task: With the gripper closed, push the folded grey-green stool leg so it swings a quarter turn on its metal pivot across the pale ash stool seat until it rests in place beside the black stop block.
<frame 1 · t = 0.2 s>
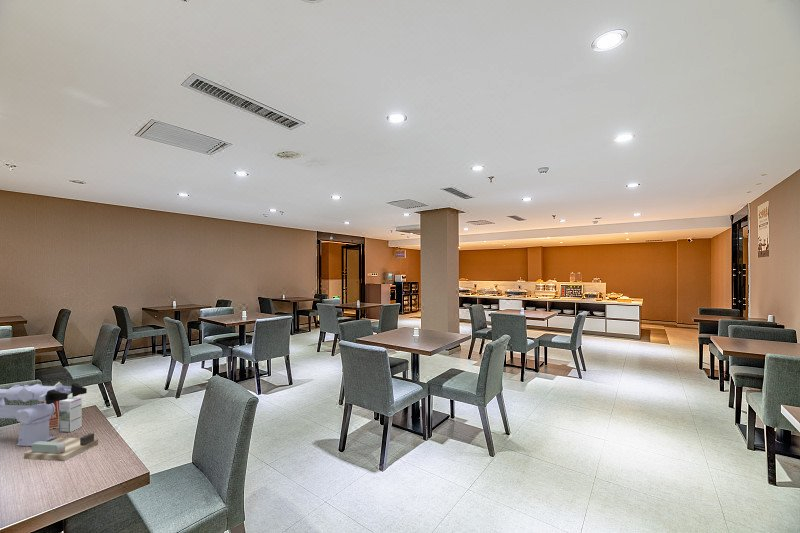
hand: (76, 393, 151), 21 cm above the table, tool horizontal, fingers open, 7 cm apart
syrup box: (70, 430, 165), on the table
milk carton: (54, 426, 169), on the table
stool leg: (49, 446, 141), point 4 cm above the table, hinge at 0.0°
stool seat: (62, 450, 145), on the table
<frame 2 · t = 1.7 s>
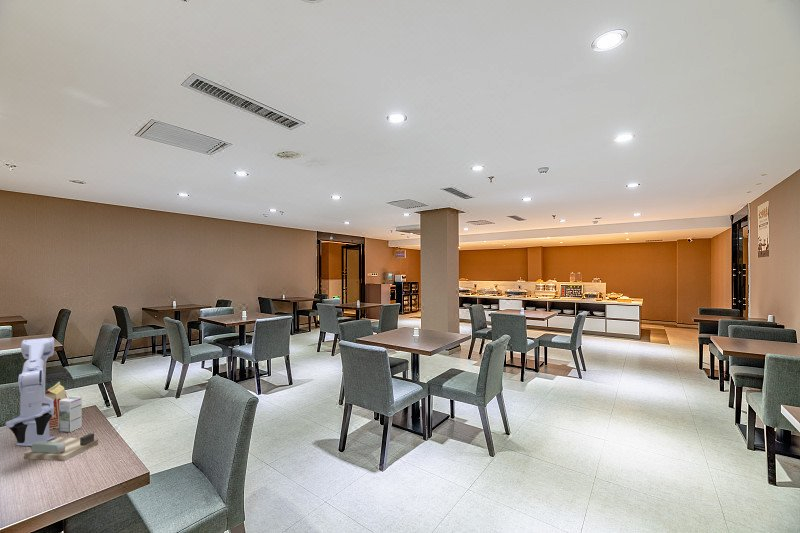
hand: (30, 438, 136), 9 cm above the table, tool pointing down, fingers open, 6 cm apart
nothing on the table moved.
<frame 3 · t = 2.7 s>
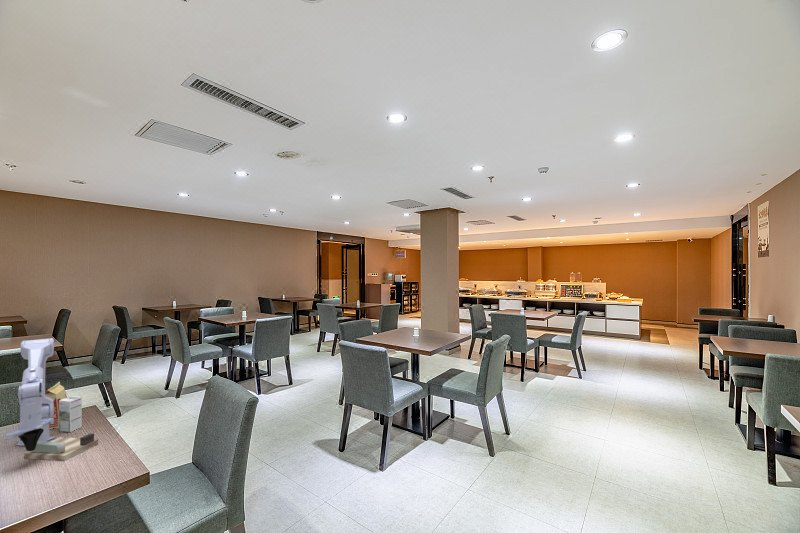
hand: (30, 450, 136), 5 cm above the table, tool pointing down, fingers closed
nothing on the table moved.
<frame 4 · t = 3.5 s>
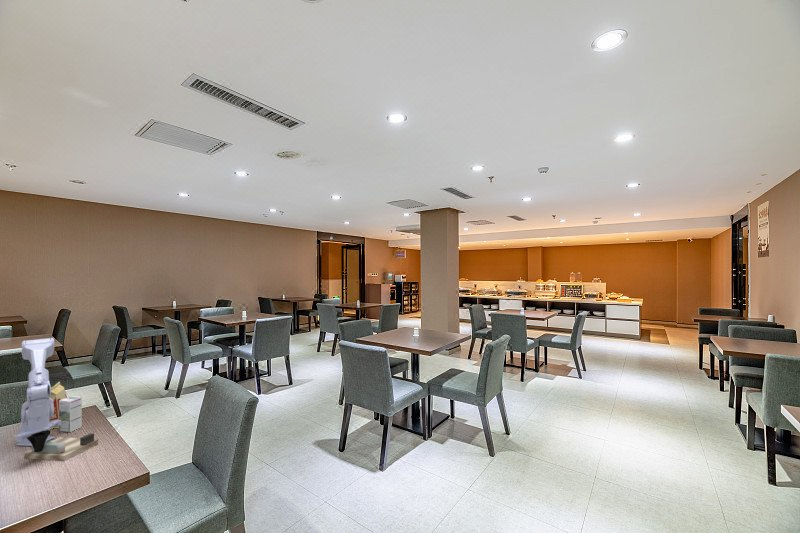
hand: (38, 451, 139), 3 cm above the table, tool pointing down, fingers closed
stool leg: (49, 446, 141), point 4 cm above the table, hinge at 0.0°, touching gripper
everything else where it was.
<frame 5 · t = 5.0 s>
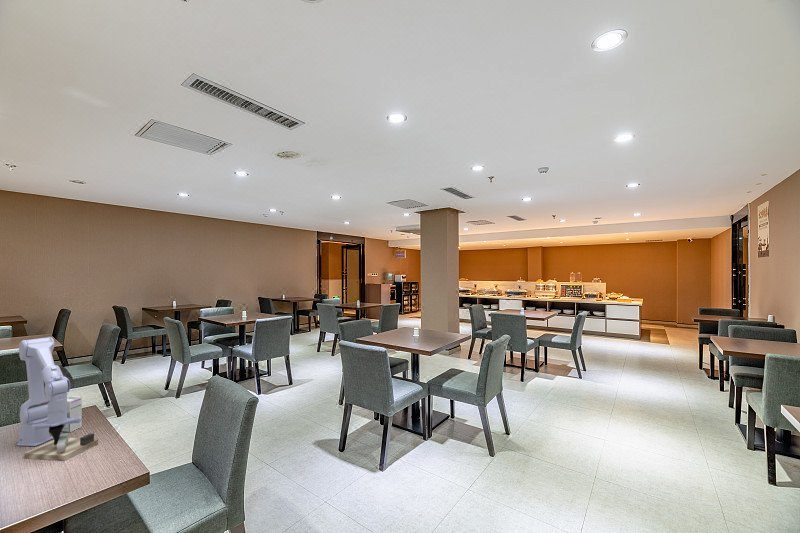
hand: (57, 443, 144), 3 cm above the table, tool pointing down, fingers closed, pressing on stool leg
stool leg: (62, 442, 144), point 4 cm above the table, hinge at 45.1°, touching gripper
everything else where it was.
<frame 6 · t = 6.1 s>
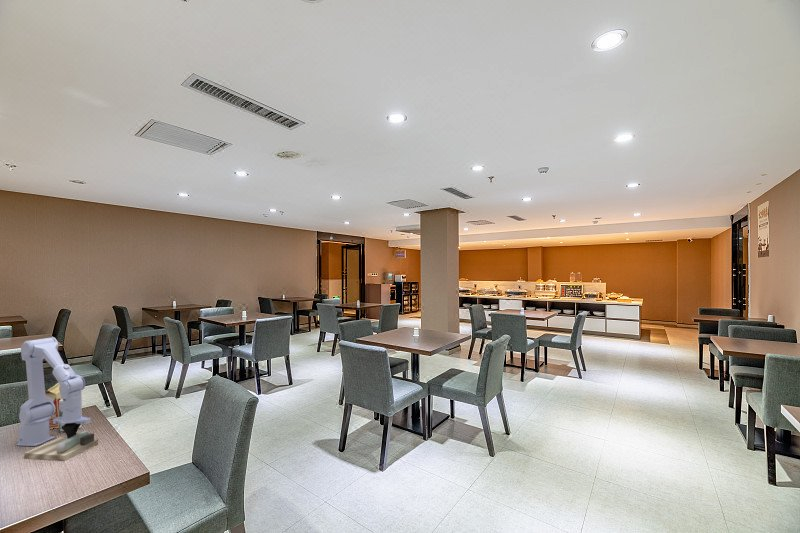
hand: (71, 440, 147), 3 cm above the table, tool pointing down, fingers closed, pressing on stool leg
stool leg: (72, 441, 145), point 4 cm above the table, hinge at 80.7°, touching gripper
everything else where it was.
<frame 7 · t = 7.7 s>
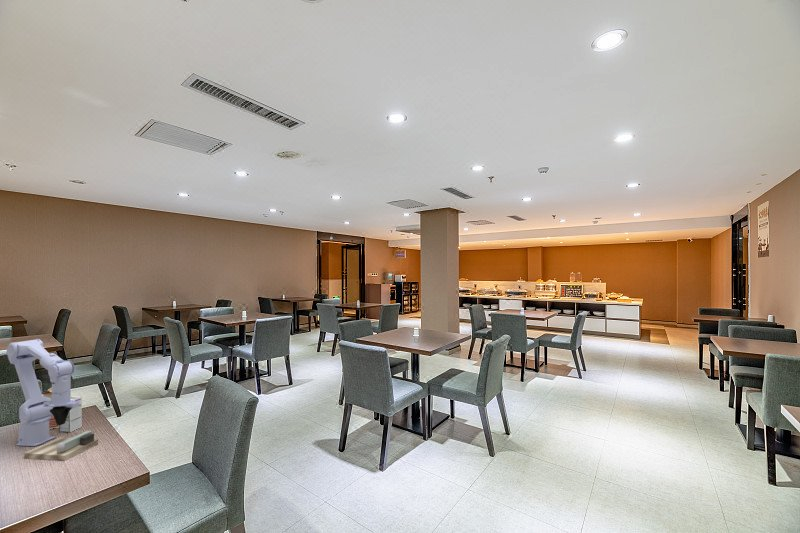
hand: (61, 424, 149), 9 cm above the table, tool pointing down, fingers closed
stool leg: (74, 441, 145), point 4 cm above the table, hinge at 89.1°
everything else where it was.
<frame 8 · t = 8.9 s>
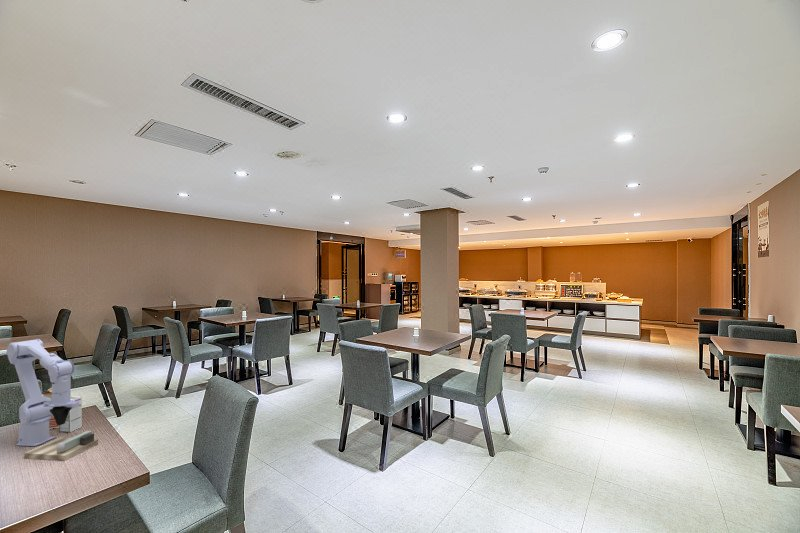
hand: (61, 424, 149), 9 cm above the table, tool pointing down, fingers closed
nothing on the table moved.
at the end: stool leg at +89° (first picture: +0°); syrup box moved 0.2 cm from its start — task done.
